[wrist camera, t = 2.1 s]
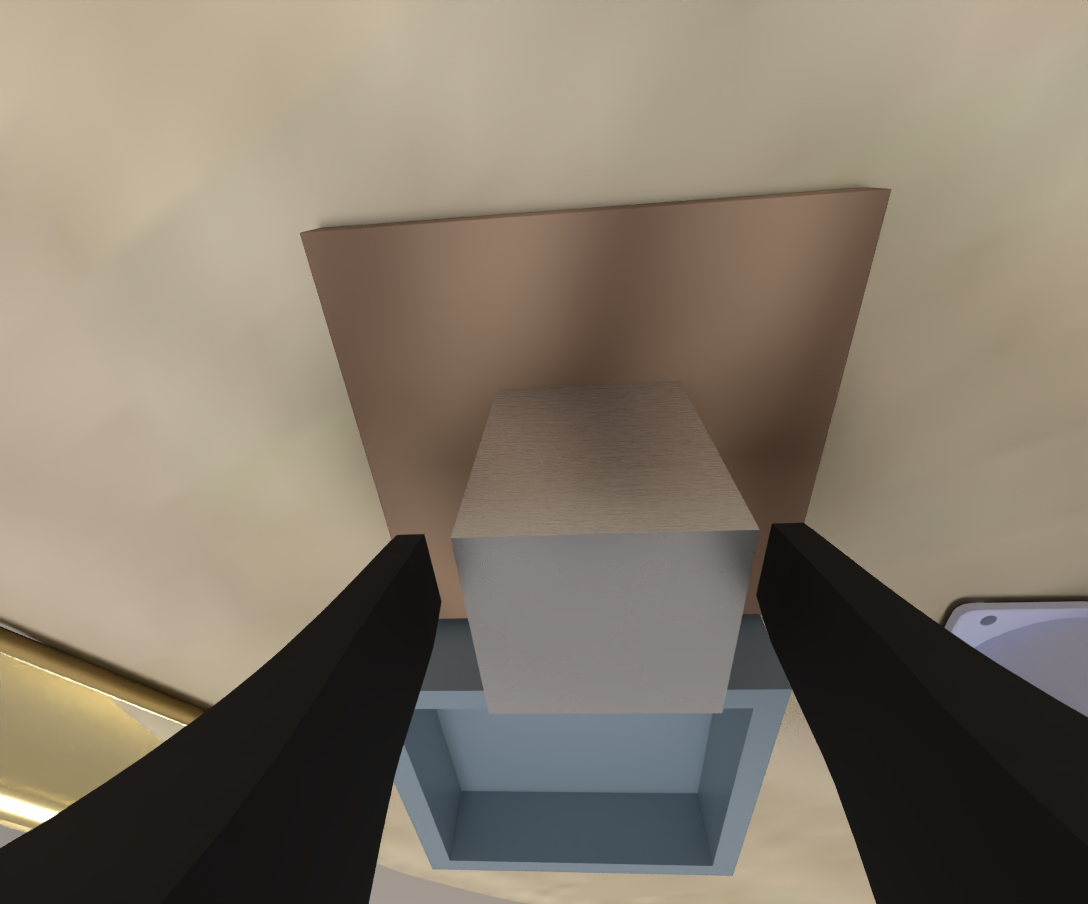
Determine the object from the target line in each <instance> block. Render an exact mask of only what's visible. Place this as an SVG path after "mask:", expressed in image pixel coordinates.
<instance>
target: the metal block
mask: <svg viewBox="0 0 1088 904" xmlns="http://www.w3.org/2000/svg"><path fill="white" fill-rule="evenodd" d="M759 531H760V529H759V527H758V526H757V524H756V522H755V520H754V518H753V516H752V514H751V513H750V511H749V509H748V507H747V505H746V503H745V501H744V499H743V498H742V496H741V494H740V492H739V490H738V488H737V486H736V485H735V483H734V481H733V479H732V477H731V475H730V473H729V472H728V470H727V468H726V466H725V464H724V462H723V460H722V458H721V457H720V455H719V453H718V451H717V449H716V447H715V445H714V444H713V442H712V440H711V438H710V436H709V434H708V432H707V430H706V429H705V427H704V425H703V423H702V421H701V419H700V417H699V416H698V414H697V412H696V410H695V408H694V406H693V404H692V403H691V401H690V399H689V397H688V395H687V393H686V391H685V389H684V388H683V386H682V384H681V382H680V380H677V381H657V382H636V383H616V384H595V385H575V386H554V387H534V388H513V389H497V392H496V395H495V398H494V401H493V404H492V407H491V411H490V414H489V417H488V420H487V423H486V427H485V430H484V433H483V436H482V439H481V442H480V446H479V449H478V452H477V455H476V458H475V462H474V465H473V468H472V471H471V474H470V477H469V481H468V484H467V487H466V490H465V493H464V497H463V500H462V503H461V506H460V509H459V513H458V516H457V519H456V522H455V525H454V528H453V532H452V535H451V543H452V547H453V552H454V557H455V561H456V566H457V570H458V575H459V580H460V584H461V589H462V593H463V598H464V602H465V607H466V612H467V616H468V621H469V625H470V630H471V634H472V639H473V644H474V648H475V653H476V657H477V662H478V666H479V671H480V676H481V680H482V685H483V689H484V694H485V699H486V703H487V708H488V712H489V714H630V713H722V712H723V707H724V702H725V697H726V693H727V688H728V683H729V678H730V673H731V668H732V663H733V658H734V653H735V648H736V644H737V639H738V634H739V629H740V624H741V619H742V614H743V609H744V604H745V599H746V595H747V590H748V585H749V580H750V575H751V570H752V565H753V560H754V555H755V551H756V546H757V541H758V536H759Z"/></svg>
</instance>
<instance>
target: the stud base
mask: <svg viewBox="0 0 1088 904" xmlns="http://www.w3.org/2000/svg"><path fill="white" fill-rule="evenodd" d="M890 193H891V189H882V188H852V189H839V190H826V191H812V192H799V193H785V194H772V195H758V196H745V197H732V198H718V199H705V200H691V201H678V202H664V203H651V204H638V205H624V206H611V207H597V208H584V209H570V210H557V211H544V212H530V213H517V214H503V215H490V216H476V217H463V218H450V219H436V220H423V221H409V222H396V223H382V224H369V225H356V226H342V227H329V228H318V229H314V230H309V231H305V232H301V233H300V236H301V239H302V242H303V246H304V249H305V252H306V256H307V259H308V262H309V266H310V269H311V272H312V276H313V279H314V282H315V286H316V289H317V292H318V296H319V299H320V302H321V306H322V309H323V312H324V316H325V319H326V322H327V326H328V329H329V332H330V336H331V339H332V342H333V346H334V349H335V352H336V356H337V359H338V362H339V366H340V369H341V372H342V376H343V379H344V382H345V386H346V389H347V392H348V396H349V399H350V402H351V406H352V409H353V412H354V416H355V419H356V422H357V426H358V429H359V432H360V436H361V439H362V442H363V446H364V449H365V452H366V456H367V459H368V462H369V466H370V469H371V472H372V476H373V479H374V482H375V486H376V489H377V492H378V496H379V499H380V502H381V506H382V509H383V512H384V516H385V519H386V522H387V526H388V529H389V532H390V536H391V539H393V538H394V537H395V536H396V535H407V534H425V538H426V542H427V546H428V550H429V554H430V558H431V562H432V566H433V570H434V573H435V577H436V581H437V585H438V589H439V593H440V597H441V601H442V602H441V608H440V614H439V619H449V618H468V616H467V612H466V607H465V602H464V598H463V593H462V589H461V584H460V580H459V575H458V570H457V566H456V561H455V557H454V552H453V547H452V543H451V535H452V532H453V528H454V525H455V522H456V519H457V516H458V513H459V509H460V506H461V503H462V500H463V497H464V493H465V490H466V487H467V484H468V481H469V477H470V474H471V471H472V468H473V465H474V462H475V458H476V455H477V452H478V449H479V446H480V442H481V439H482V436H483V433H484V430H485V427H486V423H487V420H488V417H489V414H490V411H491V407H492V404H493V401H494V398H495V395H496V392H497V389H513V388H534V387H554V386H575V385H595V384H616V383H636V382H657V381H677V380H680V382H681V384H682V386H683V388H684V389H685V391H686V393H687V395H688V397H689V399H690V401H691V403H692V404H693V406H694V408H695V410H696V412H697V414H698V416H699V417H700V419H701V421H702V423H703V425H704V427H705V429H706V430H707V432H708V434H709V436H710V438H711V440H712V442H713V444H714V445H715V447H716V449H717V451H718V453H719V455H720V457H721V458H722V460H723V462H724V464H725V466H726V468H727V470H728V472H729V473H730V475H731V477H732V479H733V481H734V483H735V485H736V486H737V488H738V490H739V492H740V494H741V496H742V498H743V499H744V501H745V503H746V505H747V507H748V509H749V511H750V513H751V514H752V516H753V518H754V520H755V522H756V524H757V526H758V527H759V529H760V531H759V536H758V541H757V546H756V551H755V555H754V560H753V565H752V570H751V575H750V580H749V585H748V590H747V595H746V599H745V604H744V609H743V614H762V613H761V610H760V607H759V603H758V600H757V597H756V593H757V588H758V584H759V579H760V575H761V570H762V566H763V561H764V557H765V552H766V547H767V543H768V538H769V534H770V529H771V525H772V523H804V521H805V517H806V513H807V509H808V506H809V502H810V498H811V494H812V490H813V487H814V483H815V479H816V475H817V471H818V467H819V464H820V460H821V456H822V452H823V448H824V445H825V441H826V437H827V433H828V429H829V425H830V422H831V418H832V414H833V410H834V406H835V403H836V399H837V395H838V391H839V387H840V383H841V380H842V376H843V372H844V368H845V364H846V361H847V357H848V353H849V349H850V345H851V341H852V338H853V334H854V330H855V326H856V322H857V319H858V315H859V311H860V307H861V303H862V299H863V296H864V292H865V288H866V284H867V280H868V277H869V273H870V269H871V265H872V261H873V257H874V254H875V250H876V246H877V242H878V238H879V235H880V231H881V227H882V223H883V219H884V215H885V212H886V208H887V204H888V200H889V196H890Z"/></svg>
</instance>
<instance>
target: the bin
mask: <svg viewBox="0 0 1088 904" xmlns="http://www.w3.org/2000/svg"><path fill="white" fill-rule="evenodd" d="M791 690H792V689H791V686H790V684H789V682H788V680H787V677H786V675H785V673H784V670H783V668H782V666H781V664H780V662H779V659H778V657H777V655H776V653H775V650H774V648H773V646H772V644H771V641H770V638H769V636H768V633H767V631H766V629H765V626H764V624H763V622H762V620H761V617H760V615H759V614H742V619H741V624H740V629H739V634H738V639H737V644H736V648H735V653H734V658H733V663H732V668H731V673H730V678H729V683H728V688H727V693H726V697H725V702H724V707H723V712H722V713H630V714H489V712H488V708H487V703H486V699H485V694H484V689H483V685H482V680H481V676H480V671H479V666H478V662H477V657H476V653H475V648H474V644H473V639H472V634H471V630H470V625H469V621H468V618H449V619H439V620H438V626H437V632H436V637H435V642H434V647H433V651H432V654H431V658H430V661H429V664H428V668H427V671H426V674H425V677H424V681H423V684H422V687H421V691H420V694H419V697H418V700H417V704H416V707H415V710H414V713H413V716H412V720H411V723H410V726H409V729H408V733H407V736H406V739H405V742H404V746H403V749H402V752H401V755H400V759H399V763H398V767H397V770H396V774H395V778H394V783H395V785H396V788H397V790H398V792H399V794H400V797H401V799H402V801H403V803H404V806H405V808H406V810H407V812H408V815H409V817H410V819H411V821H412V824H413V826H414V828H415V830H416V833H417V835H418V837H419V839H420V842H421V844H422V846H423V848H424V851H425V853H426V855H427V857H428V859H429V862H430V864H431V866H432V868H433V869H450V870H495V871H540V872H585V873H631V874H676V875H721V876H733V874H734V870H735V867H736V864H737V861H738V858H739V855H740V851H741V848H742V845H743V842H744V839H745V836H746V832H747V829H748V826H749V823H750V820H751V817H752V813H753V810H754V807H755V804H756V801H757V798H758V795H759V791H760V788H761V785H762V782H763V779H764V776H765V772H766V769H767V766H768V763H769V760H770V757H771V753H772V750H773V747H774V744H775V741H776V738H777V734H778V731H779V728H780V725H781V722H782V719H783V715H784V712H785V709H786V706H787V703H788V700H789V697H790V693H791Z"/></svg>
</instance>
